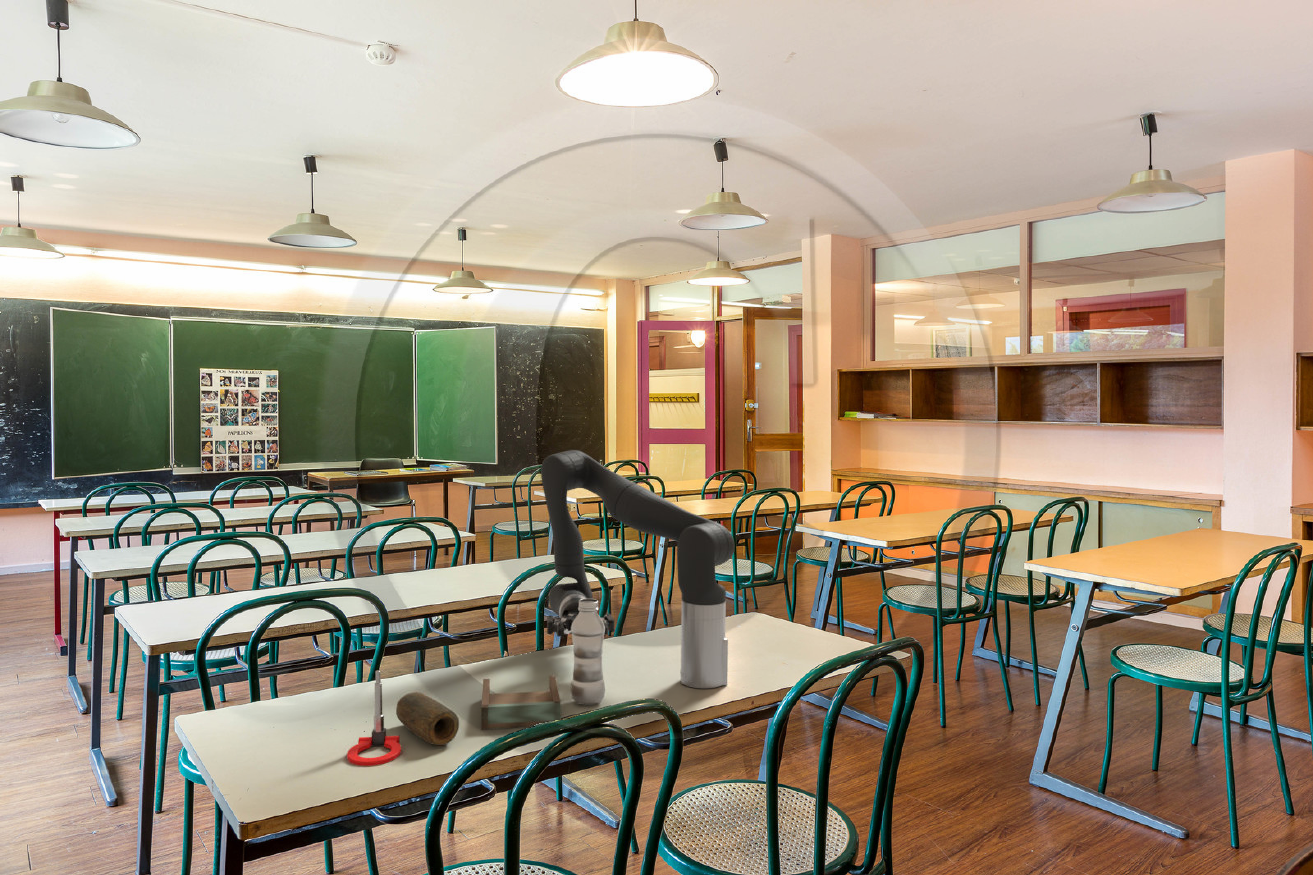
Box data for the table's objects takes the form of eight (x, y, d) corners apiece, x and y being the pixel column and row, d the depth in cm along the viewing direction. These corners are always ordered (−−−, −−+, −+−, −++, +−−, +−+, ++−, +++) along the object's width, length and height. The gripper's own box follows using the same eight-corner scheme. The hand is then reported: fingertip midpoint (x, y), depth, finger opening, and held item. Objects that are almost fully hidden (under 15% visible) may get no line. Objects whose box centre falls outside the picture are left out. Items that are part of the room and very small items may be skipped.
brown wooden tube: (467, 743, 146) (467, 704, 146) (429, 754, 142) (429, 713, 141) (424, 718, 157) (425, 682, 157) (388, 728, 153) (388, 691, 152)
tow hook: (396, 767, 137) (405, 742, 146) (395, 689, 136) (404, 668, 145) (341, 770, 136) (354, 744, 145) (340, 691, 135) (352, 670, 144)
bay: (555, 695, 170) (555, 675, 170) (560, 725, 154) (560, 703, 154) (483, 699, 168) (483, 679, 168) (481, 729, 152) (481, 707, 152)
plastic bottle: (600, 710, 163) (601, 605, 162) (566, 707, 164) (566, 603, 163) (608, 698, 169) (609, 598, 168) (575, 696, 170) (576, 596, 169)
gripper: (544, 598, 191) (548, 615, 175) (608, 596, 193) (617, 613, 177) (544, 631, 191) (548, 652, 175) (608, 629, 193) (617, 649, 177)
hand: (583, 632), depth 176 cm, fingers open, 8 cm apart
